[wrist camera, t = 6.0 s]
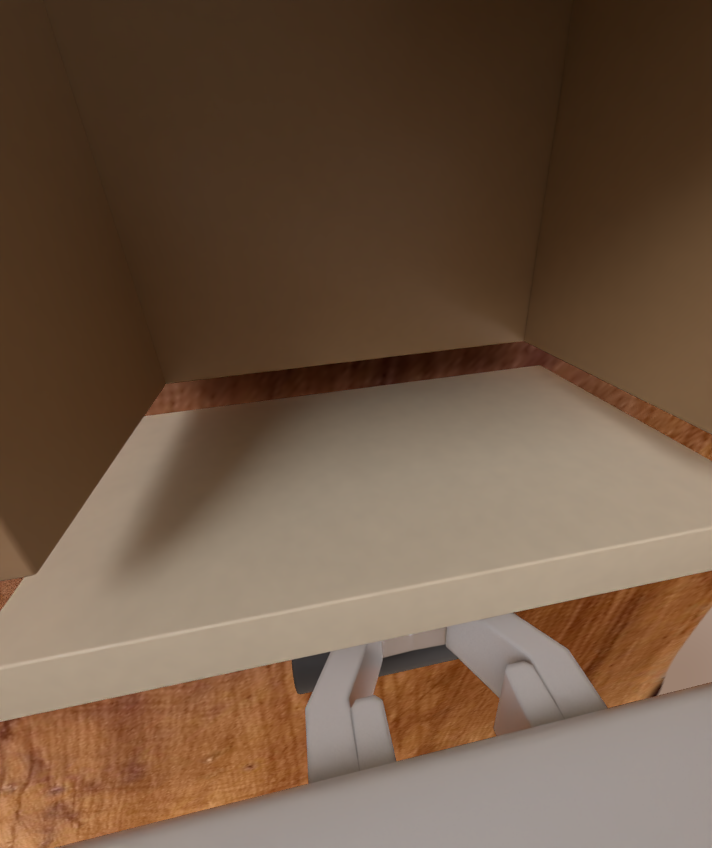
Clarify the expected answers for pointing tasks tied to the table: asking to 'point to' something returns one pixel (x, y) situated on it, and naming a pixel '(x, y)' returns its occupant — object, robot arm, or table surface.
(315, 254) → the drawer
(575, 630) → the table surface
